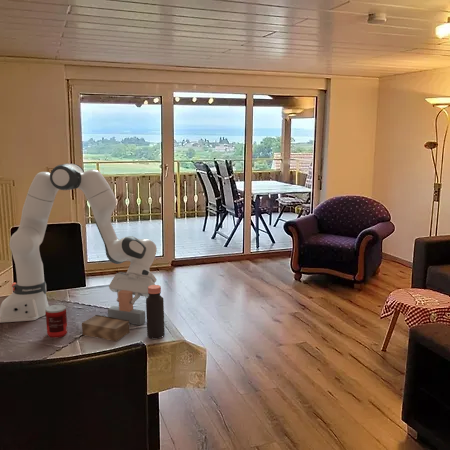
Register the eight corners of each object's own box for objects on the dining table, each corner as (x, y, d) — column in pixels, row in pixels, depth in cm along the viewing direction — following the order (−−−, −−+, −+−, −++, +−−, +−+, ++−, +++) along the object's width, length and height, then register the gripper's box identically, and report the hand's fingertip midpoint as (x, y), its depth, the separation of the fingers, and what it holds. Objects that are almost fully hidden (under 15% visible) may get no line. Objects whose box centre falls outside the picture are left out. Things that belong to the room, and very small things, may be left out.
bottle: (148, 340, 184) (146, 290, 181) (146, 333, 191) (144, 284, 187) (166, 337, 186) (164, 288, 182) (163, 331, 193) (161, 283, 189)
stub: (108, 319, 204) (106, 290, 202) (113, 316, 208) (112, 288, 206) (140, 325, 198) (139, 295, 196) (145, 321, 202) (144, 292, 199)
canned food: (60, 328, 196) (58, 302, 194) (71, 333, 191) (70, 307, 189) (43, 334, 190) (41, 308, 188) (54, 339, 185) (52, 312, 183)
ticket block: (82, 334, 189) (81, 322, 188) (96, 326, 197) (96, 314, 196) (116, 341, 183) (115, 328, 182) (129, 332, 191) (129, 320, 190)
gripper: (113, 267, 210) (101, 296, 203) (154, 272, 202) (142, 302, 195) (120, 275, 214) (108, 302, 207) (160, 280, 207) (148, 309, 200)
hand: (125, 302), depth 201 cm, fingers closed on stub, 5 cm apart
